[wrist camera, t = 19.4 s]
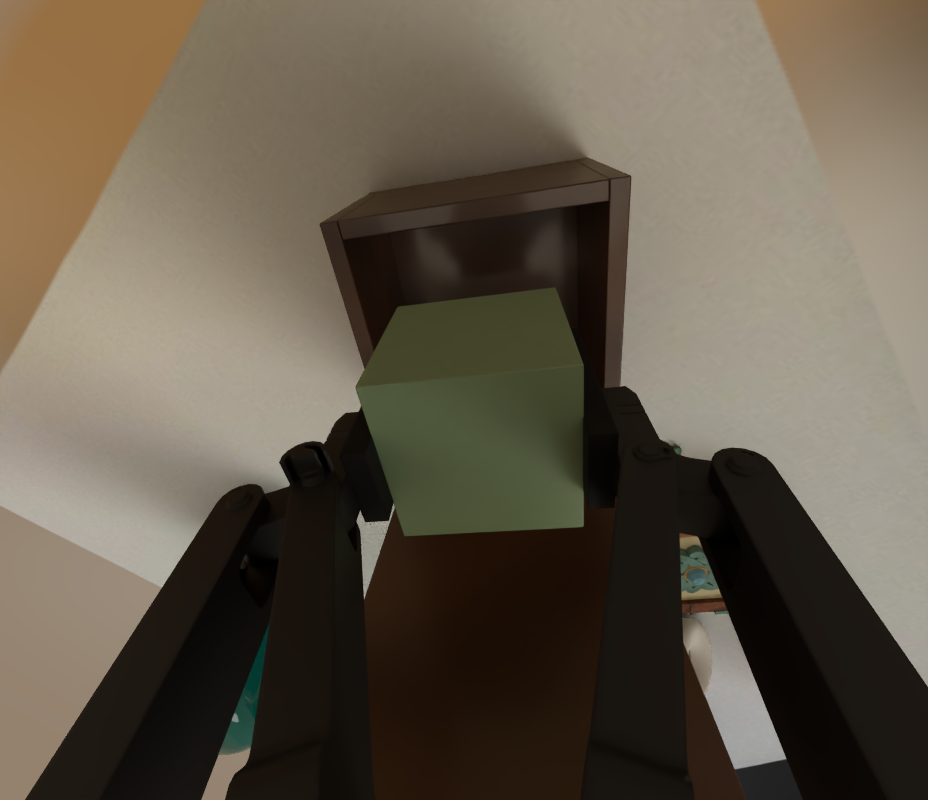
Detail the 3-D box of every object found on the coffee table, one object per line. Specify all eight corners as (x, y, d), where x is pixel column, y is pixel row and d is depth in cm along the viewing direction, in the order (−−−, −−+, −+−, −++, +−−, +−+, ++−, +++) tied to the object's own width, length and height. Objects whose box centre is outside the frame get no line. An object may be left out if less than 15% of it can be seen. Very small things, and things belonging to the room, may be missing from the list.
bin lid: (263, 898, 11) (326, 973, 13) (801, 932, 9) (760, 1010, 12) (399, 491, 26) (417, 563, 28) (617, 477, 24) (616, 554, 27)
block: (397, 306, 17) (354, 387, 12) (555, 286, 16) (584, 364, 11) (427, 431, 20) (403, 536, 15) (560, 419, 19) (584, 527, 14)
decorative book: (771, 431, 33) (811, 477, 29) (742, 573, 42) (769, 623, 38) (592, 454, 35) (605, 499, 31) (601, 584, 44) (613, 632, 40)
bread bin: (369, 192, 25) (318, 223, 18) (589, 157, 24) (631, 175, 16) (422, 410, 34) (402, 491, 26) (587, 395, 32) (615, 477, 25)
